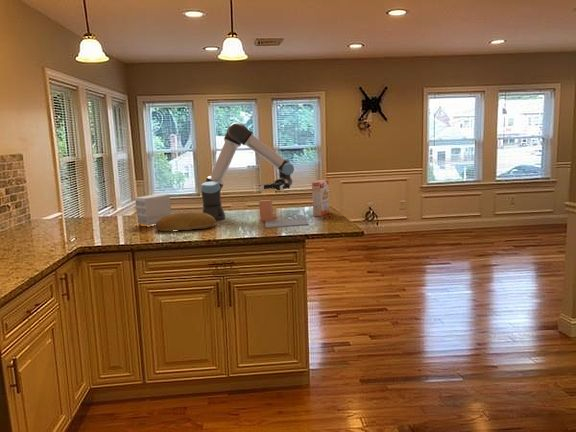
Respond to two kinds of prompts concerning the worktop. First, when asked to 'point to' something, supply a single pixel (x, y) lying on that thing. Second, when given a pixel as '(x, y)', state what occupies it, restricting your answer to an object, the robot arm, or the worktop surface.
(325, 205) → the cracker box
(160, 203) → the supplement box
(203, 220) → the bread
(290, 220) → the mat
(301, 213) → the worktop surface
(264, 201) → the deck
